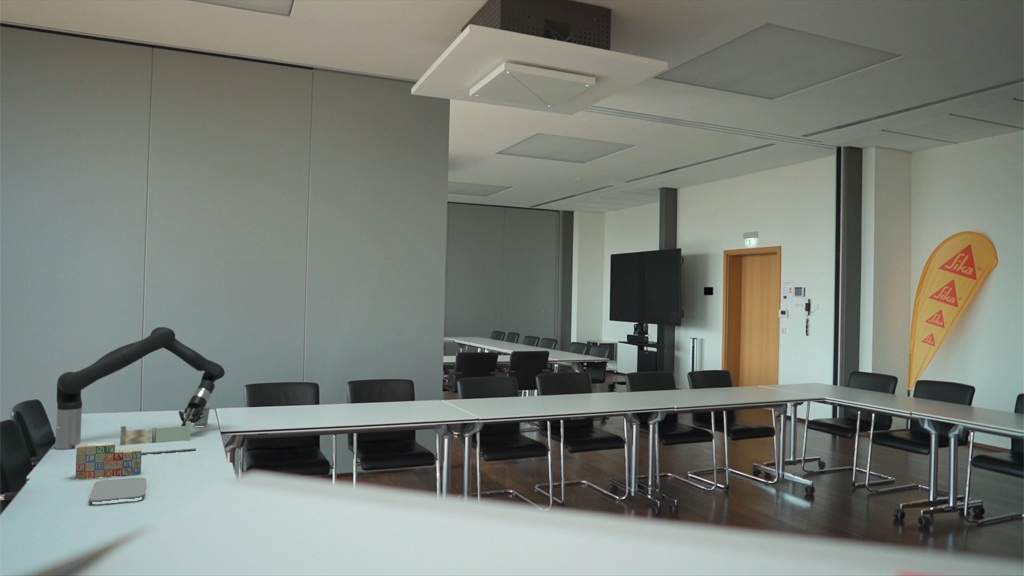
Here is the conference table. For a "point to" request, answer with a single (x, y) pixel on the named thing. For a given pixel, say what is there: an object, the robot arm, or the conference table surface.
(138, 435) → the fixed fence panel
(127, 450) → the stack of blocks
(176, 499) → the conference table surface
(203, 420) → the coffee cup
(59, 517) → the conference table surface
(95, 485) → the tablet
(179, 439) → the hinged fence panel
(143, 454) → the board
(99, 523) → the conference table surface
